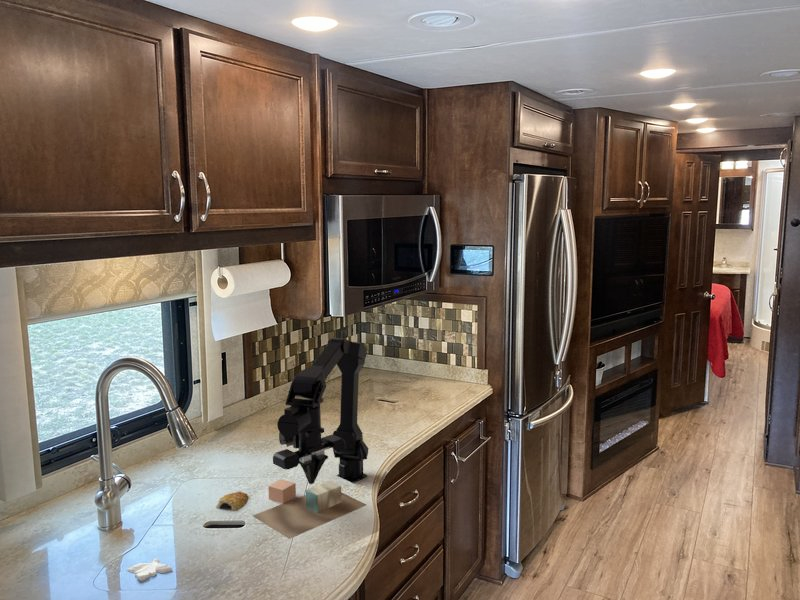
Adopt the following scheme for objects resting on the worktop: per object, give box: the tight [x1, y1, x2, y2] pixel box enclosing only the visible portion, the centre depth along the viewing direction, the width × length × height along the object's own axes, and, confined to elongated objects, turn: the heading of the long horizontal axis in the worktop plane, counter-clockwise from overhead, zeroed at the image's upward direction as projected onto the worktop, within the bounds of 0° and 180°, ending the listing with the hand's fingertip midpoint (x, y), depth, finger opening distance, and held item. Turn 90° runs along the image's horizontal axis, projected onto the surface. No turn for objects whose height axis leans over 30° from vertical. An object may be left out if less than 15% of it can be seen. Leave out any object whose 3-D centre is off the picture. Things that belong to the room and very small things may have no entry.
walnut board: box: [252, 491, 367, 539], centre depth 163 cm, size 24×16×1 cm, turn 134°
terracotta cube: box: [267, 478, 297, 504], centre depth 170 cm, size 5×5×5 cm
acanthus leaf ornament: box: [126, 558, 173, 582], centre depth 139 cm, size 8×7×2 cm
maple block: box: [305, 480, 342, 513], centre depth 165 cm, size 4×4×8 cm
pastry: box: [215, 491, 249, 511], centre depth 168 cm, size 9×7×4 cm
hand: (311, 483), depth 162 cm, fingers closed
